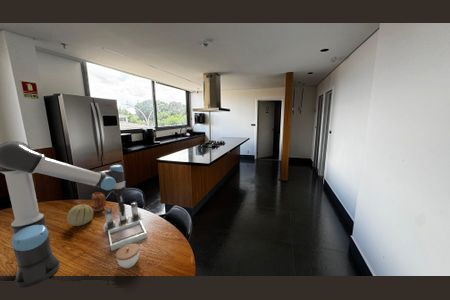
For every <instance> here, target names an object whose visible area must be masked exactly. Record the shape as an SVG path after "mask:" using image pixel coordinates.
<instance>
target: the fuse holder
mask: <svg viewBox="0 0 450 300" xmlns="http://www.w3.org/2000/svg"><path fill="white" fill-rule="evenodd" d="M138 217H139V218H136V219H134V220H133V218H132V215H130V216H129V217H128V216H126V222H123V223H120V218H118V219H117V220H113V223H114V226H110V227H108V228H107V224H106V222H105V223H104V224H103V225H102V227H103V232H104V233H105V232H108V230H111V229H114V228H117V227H120V226H123V225H126V224H130V223H133V222H136V221H139V220H141V221H143V219H144V218H143V217H142V215H141V213H139V212H138Z"/></svg>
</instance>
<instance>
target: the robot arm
mask: <svg viewBox="0 0 450 300" xmlns="http://www.w3.org/2000/svg"><path fill="white" fill-rule="evenodd" d="M124 172H125V171H124V168H123V165H122V164H114V165H111V166H109V169H106V170H102V171H93V170H90V169H87V168H82V167H80V166H76V165H72V164H69V163H67V162H62V161H59V160H56V159H52V158H49V157H46V156H45V154H42V153H40V152H37V151H35V150H32V148H31V147H30V146H29V145H28V144H26V143H25V142H23V141H22V142H21V141H15V140H12V141H11V140H10V141H6V142H3V143H1V144H0V173H1V174H4V176H5V181H6V186H7V190H8V194H9V200H10V202H11V208H12V212H13V213H12V214H13V216H14V220H13V221H12V222H11V229H12V233H13V236H12V237H11V240H10V241H11V242H10V243H11V247H12V250H13V252H14V253H13V254H14V257H15V261H16V265H17V270H16V271H17V272H16V276H15V281H14V282H15V285H16V287H18V288H19V289H20V288H21V289H23V288H29V287H33V286H36V285H39V284H40V283H42V282H45V281H46V280H48V279H50V277H52V276H53V275H54V274H55V273H56V272H58V270H59V269H60V266H61V263H60V260H59V258H57V256H56V255H55V254H53V250H52V245H51V241H50V236H49V230H48V228H47V224H46V218H45V214H43V213H41V212H40V209H39V204H38V199H37V195H36V190H35V184H34V180H33V175H32V174H35V173H37V174H42V175H47V176H51V177H54V178H59V179H64V180H68V181H71V182H76V183H81V184H83V185H84V184H85V185H88V186H91V187H97V188H101V189H102V190H105V191H111V190H112V192H113V195H116V201H117V203H118V205H117V207H119V206H120V211H119V210H118V213H119V212H120V216H121V220H124V219H125V213H126V208H125V209H124V205H125V199H124V197H125V196H124V193H126V181H125V173H124Z"/></svg>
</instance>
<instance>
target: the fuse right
mask: <svg viewBox="0 0 450 300" xmlns="http://www.w3.org/2000/svg"><path fill="white" fill-rule="evenodd" d="M130 208H131V216H132V218H133V220H134V219H136V218H139V217H138V213H139V212H138V211H139V209H138V202H137V201H133V202H131V203H130Z"/></svg>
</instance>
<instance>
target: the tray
mask: <svg viewBox="0 0 450 300" xmlns="http://www.w3.org/2000/svg"><path fill="white" fill-rule="evenodd" d="M137 225H140V227H141V229H142V231H140V232H138V233H135V234H133V235H130V236H127V237H124V238H121V239H118V240H115V241H113V242H112V237H111V236H112V235H111V234H112V233H113V234H114V233H115V232H118V231H121V230H124V229H128V228H131V227H133V226H137ZM107 233H108V240H109V245H110V251H111V252H112V251H115V250H119V249H120V248H121V247H123V246H125V245H128V244H135V243H136V242H139V241H142V240H144V239H146V238H148V233H147V230H146V229H145V226H144V225H143V222H142V220H139V221H136V222H133V223H130V224H126V225H123V226H120V227H117V228H114V229H111V230H108V231H107Z"/></svg>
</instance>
